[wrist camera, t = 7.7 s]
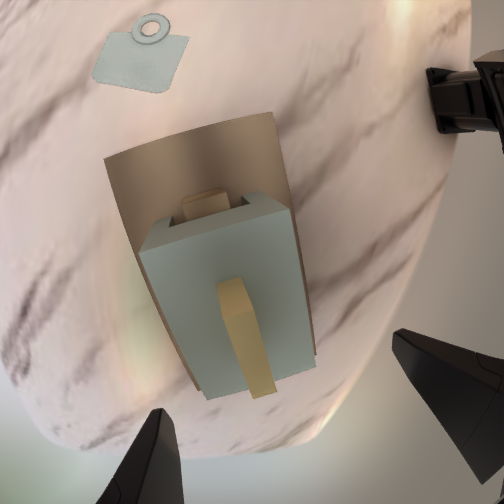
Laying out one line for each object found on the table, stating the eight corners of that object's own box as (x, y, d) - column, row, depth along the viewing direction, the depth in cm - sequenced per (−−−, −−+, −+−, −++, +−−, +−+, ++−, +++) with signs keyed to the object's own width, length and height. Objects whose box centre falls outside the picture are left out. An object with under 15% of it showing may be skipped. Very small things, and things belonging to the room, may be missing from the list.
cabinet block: (259, 190, 18) (316, 225, 10) (287, 317, 22) (335, 399, 14) (154, 221, 18) (125, 282, 9) (201, 343, 21) (212, 438, 13)
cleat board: (266, 114, 18) (284, 106, 14) (310, 345, 26) (327, 372, 22) (110, 158, 17) (90, 160, 13) (196, 379, 25) (199, 411, 21)
